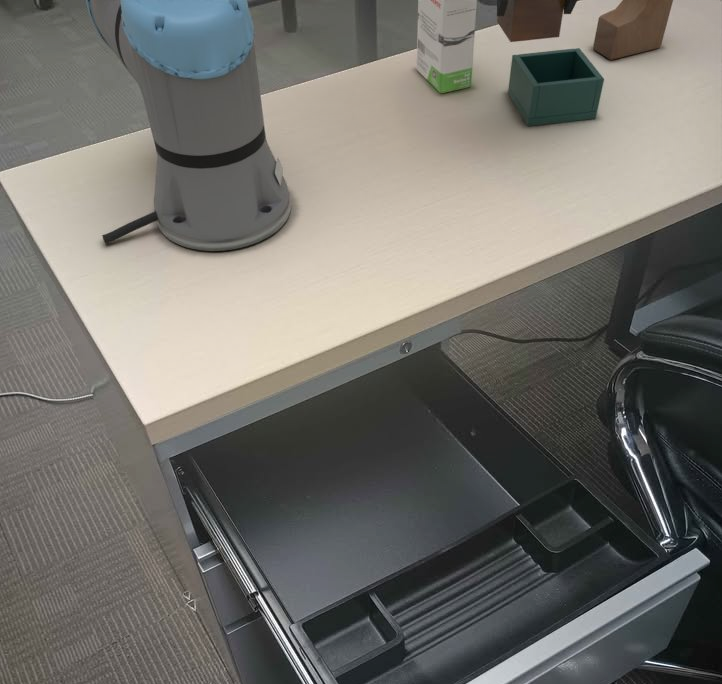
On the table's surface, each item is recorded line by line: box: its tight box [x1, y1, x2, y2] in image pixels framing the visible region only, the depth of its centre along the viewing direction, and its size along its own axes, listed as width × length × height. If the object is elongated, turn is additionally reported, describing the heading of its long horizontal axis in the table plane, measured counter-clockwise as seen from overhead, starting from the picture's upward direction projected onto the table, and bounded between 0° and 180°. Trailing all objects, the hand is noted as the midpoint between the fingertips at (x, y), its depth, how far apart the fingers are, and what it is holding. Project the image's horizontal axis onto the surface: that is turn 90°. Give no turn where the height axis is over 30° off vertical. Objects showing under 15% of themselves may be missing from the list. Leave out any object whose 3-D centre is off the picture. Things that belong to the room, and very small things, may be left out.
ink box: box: [415, 0, 478, 94], centre depth 102 cm, size 9×5×12 cm, turn 21°
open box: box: [507, 47, 605, 127], centre depth 99 cm, size 9×9×5 cm
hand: (536, 8), depth 80 cm, fingers closed on post, 6 cm apart
